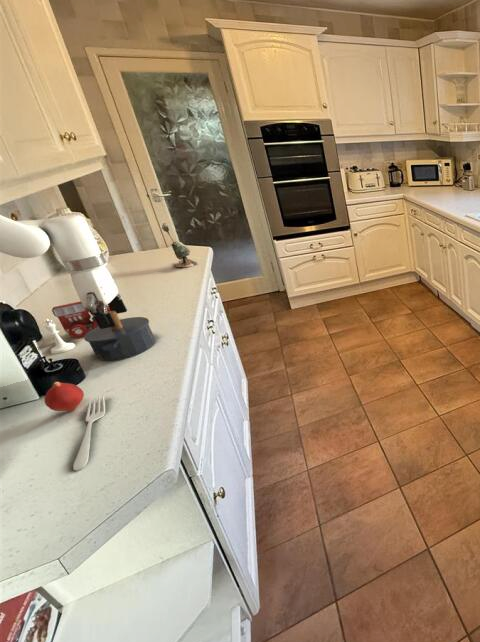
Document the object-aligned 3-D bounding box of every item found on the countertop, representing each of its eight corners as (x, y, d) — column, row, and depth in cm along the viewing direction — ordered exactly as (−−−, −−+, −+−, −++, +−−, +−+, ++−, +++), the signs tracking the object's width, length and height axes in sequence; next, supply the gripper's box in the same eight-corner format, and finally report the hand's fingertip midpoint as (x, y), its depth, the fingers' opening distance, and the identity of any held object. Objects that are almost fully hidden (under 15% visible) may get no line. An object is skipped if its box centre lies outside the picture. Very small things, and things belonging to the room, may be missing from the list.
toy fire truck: (120, 328, 126) (106, 299, 122) (65, 342, 119) (48, 311, 115) (121, 320, 131) (107, 292, 127) (68, 333, 124) (52, 303, 119)
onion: (50, 414, 89) (31, 385, 86) (84, 399, 94) (67, 371, 91) (59, 422, 87) (41, 393, 84) (94, 406, 91) (77, 378, 88)
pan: (86, 371, 104) (74, 351, 102) (110, 340, 119) (100, 322, 116) (146, 358, 110) (137, 338, 107) (162, 330, 124) (154, 312, 122)
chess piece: (56, 347, 116) (39, 317, 112) (78, 343, 118) (62, 313, 114) (47, 355, 112) (29, 325, 108) (70, 351, 114) (53, 320, 110)
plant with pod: (177, 271, 173) (159, 227, 165) (174, 265, 181) (157, 222, 173) (199, 266, 178) (183, 223, 170) (195, 260, 186) (180, 219, 178)
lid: (76, 349, 103) (65, 329, 101) (96, 327, 114) (86, 308, 112) (142, 335, 109) (133, 316, 107) (155, 316, 120) (147, 298, 118)
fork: (67, 474, 74) (62, 468, 73) (90, 406, 91) (87, 400, 91) (90, 466, 75) (86, 459, 75) (109, 400, 93) (105, 394, 93)
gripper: (79, 256, 109) (107, 310, 116) (50, 276, 95) (84, 337, 102) (115, 251, 112) (140, 304, 119) (91, 270, 98) (121, 329, 105)
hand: (114, 319), depth 111 cm, fingers open, 9 cm apart
